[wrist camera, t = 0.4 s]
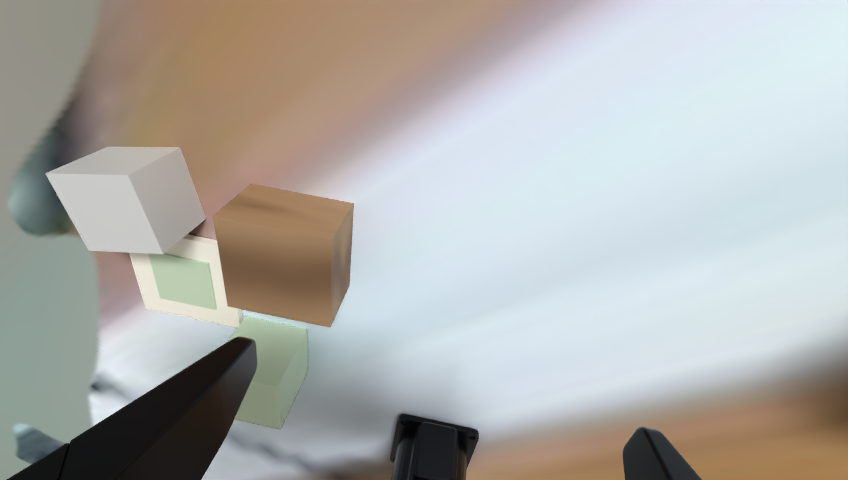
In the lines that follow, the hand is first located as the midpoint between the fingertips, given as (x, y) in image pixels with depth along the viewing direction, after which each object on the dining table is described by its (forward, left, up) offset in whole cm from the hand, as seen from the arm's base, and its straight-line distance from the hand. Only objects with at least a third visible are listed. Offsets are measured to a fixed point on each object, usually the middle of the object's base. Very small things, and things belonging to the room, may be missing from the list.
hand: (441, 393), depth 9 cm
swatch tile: (-11, +17, -14) cm, 25 cm away
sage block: (-16, +11, -14) cm, 24 cm away
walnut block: (-6, +9, -14) cm, 18 cm away
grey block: (-5, +18, -14) cm, 23 cm away
